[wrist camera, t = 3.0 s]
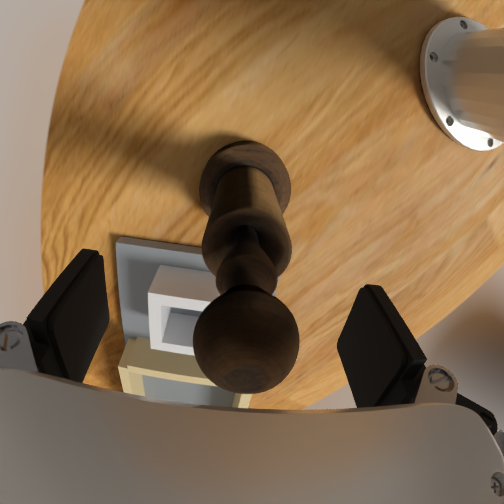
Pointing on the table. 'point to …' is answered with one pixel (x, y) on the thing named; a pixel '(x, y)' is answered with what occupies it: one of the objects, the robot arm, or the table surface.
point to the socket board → (165, 322)
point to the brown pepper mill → (246, 271)
